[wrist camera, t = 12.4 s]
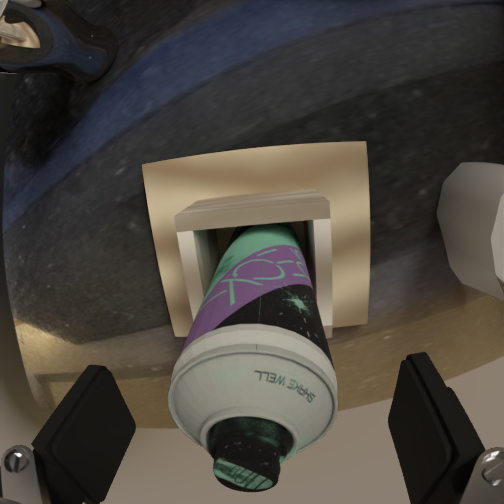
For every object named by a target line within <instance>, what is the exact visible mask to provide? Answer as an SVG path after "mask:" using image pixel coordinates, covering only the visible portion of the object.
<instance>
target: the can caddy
mask: <svg viewBox="0 0 504 504" xmlns="http://www.w3.org/2000/svg"><path fill="white" fill-rule="evenodd" d="M142 170H143V177H144V184H145V191H146V197H147V204H148V210H149V216H150V222H151V228H152V233H153V239H154V244H155V249H156V254H157V259H158V264H159V269H160V274H161V279H162V283H163V288H164V292H165V297H166V301H167V305H168V310H169V314H170V318H171V322H172V326H173V330H174V334H175V337H187V336H188V334H189V331H190V329H191V327H192V324H193V322H194V320H195V317H196V315H197V313H198V311H199V308H200V306H201V304H202V301H203V299H204V297H205V295H206V292H207V290H208V288H209V285H210V283H211V281H212V279H213V276H214V274H215V272H216V270H217V267H218V265H219V263H220V261H221V259H222V256H223V254H224V252H225V250H226V247H227V245H228V243H229V241H230V239H231V236H232V234H233V232H234V231H235V229H236V227H237V226H246V225H257V224H269V223H280V222H288V223H289V224H291V226H292V227H293V229H294V230H295V232H296V234H297V237H298V240H299V243H300V246H301V250H302V253H303V256H304V260H305V263H306V267H307V270H308V274H309V277H310V281H311V284H312V288H313V291H314V295H315V298H316V302H317V306H318V309H319V313H320V317H321V321H322V324H323V328H324V332H325V336H326V338H332V328H335V327H344V326H353V325H361V324H367V319H368V303H369V280H370V199H369V177H368V161H367V148H366V141H364V142H331V143H311V144H296V145H283V146H271V147H260V148H251V149H242V150H233V151H225V152H217V153H210V154H203V155H196V156H189V157H183V158H177V159H171V160H165V161H159V162H154V163H148V164H143V165H142Z"/></svg>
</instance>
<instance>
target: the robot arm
mask: <svg viewBox="0 0 504 504" xmlns="http://www.w3.org/2000/svg"><path fill="white" fill-rule="evenodd" d="M388 425H389V429H390V432H391V435H392V439H393V442H394V445H395V449H396V452H397V455H398V459H399V462H400V466H401V469H402V472H403V476H404V480H405V484H406V488H407V491H408V495H409V499H410V503H411V504H504V448H503V447H495V448H490V449H488V450H485V448H484V446H483V444H482V442H481V440H480V438H479V436H478V435H477V432H476V430H475V429H474V427H473V425H472V423H471V421H470V419H469V417H468V416H467V414H466V412H465V410H464V408H463V407H462V405H461V403H460V401H459V399H458V398H457V396H456V394H455V393H454V391H453V390H452V389H451V388H450V387H446V385H445V383H444V381H443V380H442V378H441V376H440V375H439V373H438V371H437V369H436V368H435V366H434V365H433V363H432V361H431V360H430V358H429V356H428V355H427V353H426V352H421V353H415V354H410V355H407V357H406V360H403V361H402V362H401V365H400V370H399V375H398V379H397V384H396V388H395V393H394V397H393V401H392V405H391V409H390V413H389V417H388ZM135 429H136V425H135V421H134V419H133V417H132V415H131V413H130V411H129V409H128V407H127V405H126V403H125V401H124V399H123V397H122V395H121V393H120V390H119V388H118V386H117V384H116V382H115V379H114V377H113V375H112V373H111V372H110V371H108V369H107V368H106V367H105V366H100V365H89V366H88V367H87V368H86V369H85V370H84V372H83V373H82V374H81V376H80V377H79V378H78V380H77V381H76V382H75V384H74V385H73V386H72V388H71V389H70V390H69V392H68V393H67V394H66V396H65V397H64V398H63V400H62V401H61V403H60V404H59V405H58V407H57V408H56V409H55V411H54V412H53V414H52V415H51V416H50V418H49V419H48V421H47V422H46V423H45V425H44V426H43V428H42V429H41V430H40V432H39V433H38V435H37V436H36V438H35V439H34V441H33V442H32V443H31V444H32V446H33V447H34V450H33V451H32V450H31V449H30V448H29V447H27V446H25V445H15V446H13V447H11V448H9V449H8V450H6V452H5V453H4V454H3V456H2V458H1V466H0V504H82V503H83V502H84V503H86V504H100V502H102V501H104V500H105V498H106V495H107V493H108V491H109V488H110V486H111V484H112V482H113V479H114V477H115V475H116V472H117V470H118V468H119V466H120V464H121V461H122V459H123V457H124V455H125V452H126V450H127V448H128V446H129V443H130V441H131V439H132V437H133V435H134V433H135Z"/></svg>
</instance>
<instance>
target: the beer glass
mask: <svg viewBox="0 0 504 504" xmlns="http://www.w3.org/2000/svg"><path fill="white" fill-rule="evenodd" d="M116 52H117V39H116V37H115V35H114V33H113V32H112V31H111V30H110V29H108V28H106V27H103V26H99V25H95V24H92V23H90V22H88V21H87V20H86V19H85V18H84V17H83V16H82V15H81V14H80V13H79V12H78V11H77V10H76V9H75V8H74V6H73V5H72V4H71V3H70V2H69V1H68V0H0V72H3V73H10V74H11V73H12V74H31V73H56V74H60V75H62V76H64V77H66V78H67V79H69V80H70V81H72V82H74V83H77V84H87V83H91V82H93V81H95V80H97V79H98V78H100V77H101V76H102V75H103V74H104V73H105V72H106V71H107V70H108V69H109V67H110V66H111V64H112V63H113V61H114V59H115V56H116Z"/></svg>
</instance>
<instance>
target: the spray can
mask: <svg viewBox="0 0 504 504" xmlns="http://www.w3.org/2000/svg"><path fill="white" fill-rule="evenodd" d="M337 391H338V388H337V380H336V375H335V371H334V367H333V363H332V359H331V355H330V351H329V347H328V343H327V339H326V336H325V332H324V328H323V324H322V321H321V317H320V313H319V309H318V306H317V302H316V298H315V295H314V291H313V288H312V284H311V281H310V277H309V274H308V270H307V267H306V263H305V260H304V256H303V253H302V250H301V246H300V243H299V240H298V237H297V234H296V232H295V230H294V229H293V227H292V226H291V224H289V223H288V222H280V223H269V224H257V225H246V226H237V227H236V229H235V231H234V232H233V234H232V236H231V239H230V241H229V243H228V245H227V247H226V250H225V252H224V254H223V256H222V259H221V261H220V263H219V265H218V267H217V270H216V272H215V274H214V276H213V279H212V281H211V283H210V285H209V288H208V290H207V292H206V295H205V297H204V299H203V301H202V304H201V306H200V308H199V311H198V313H197V315H196V317H195V320H194V322H193V324H192V327H191V329H190V331H189V334H188V336H187V338H186V341H185V343H184V345H183V348H182V350H181V352H180V355H179V357H178V359H177V362H176V364H175V367H174V370H173V373H172V377H171V386H170V389H169V393H168V407H169V410H170V413H171V416H172V418H173V420H174V421H175V423H176V424H177V426H178V427H179V428H180V429H181V431H182V432H183V433H184V434H185V435H186V436H188V437H189V438H190V439H191V440H193V441H194V442H195V443H197V444H199V445H200V446H202V447H204V449H205V450H206V451H207V452H208V453H209V454H210V455H211V456H212V457H213V459H214V465H213V471H214V474H215V477H216V478H217V479H218V481H219V482H220V483H221V484H223V485H224V486H226V487H228V488H230V489H233V490H237V491H243V492H260V491H265V490H267V489H270V488H272V487H274V486H275V485H276V484H277V482H278V477H279V474H280V463H281V462H283V461H285V460H287V459H289V458H290V457H291V456H293V455H294V454H295V453H298V452H301V451H303V450H305V449H307V448H309V447H310V446H312V445H314V444H315V443H316V442H317V441H319V440H320V439H321V438H323V437H324V436H325V435H326V433H327V432H328V431H329V430H330V429H331V427H332V425H333V423H334V421H335V419H336V416H337V410H338V402H337Z"/></svg>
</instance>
